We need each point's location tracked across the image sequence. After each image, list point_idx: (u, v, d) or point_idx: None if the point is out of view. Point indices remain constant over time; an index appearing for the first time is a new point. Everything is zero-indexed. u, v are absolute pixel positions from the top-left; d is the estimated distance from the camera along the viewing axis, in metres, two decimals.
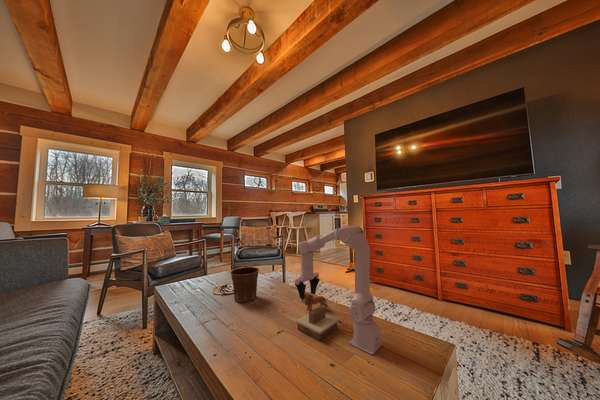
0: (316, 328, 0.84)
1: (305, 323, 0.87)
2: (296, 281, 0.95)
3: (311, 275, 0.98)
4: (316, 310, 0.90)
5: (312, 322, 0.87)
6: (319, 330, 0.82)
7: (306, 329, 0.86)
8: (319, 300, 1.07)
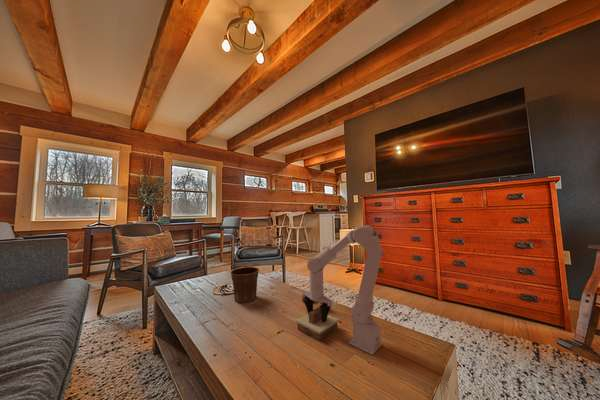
0: (316, 328, 0.84)
1: (305, 323, 0.87)
2: None
3: (312, 295, 0.89)
4: (316, 310, 0.90)
5: (312, 322, 0.87)
6: (319, 330, 0.82)
7: (306, 329, 0.86)
8: None
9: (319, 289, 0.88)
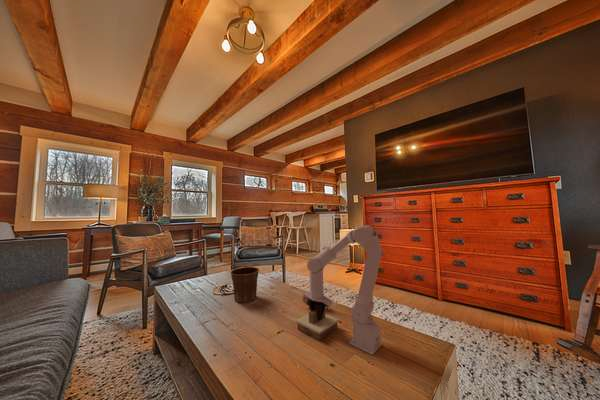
0: (316, 328, 0.84)
1: (305, 323, 0.87)
2: None
3: (312, 295, 0.89)
4: (316, 310, 0.90)
5: (312, 322, 0.87)
6: (319, 330, 0.82)
7: (306, 329, 0.86)
8: None
9: (319, 289, 0.88)
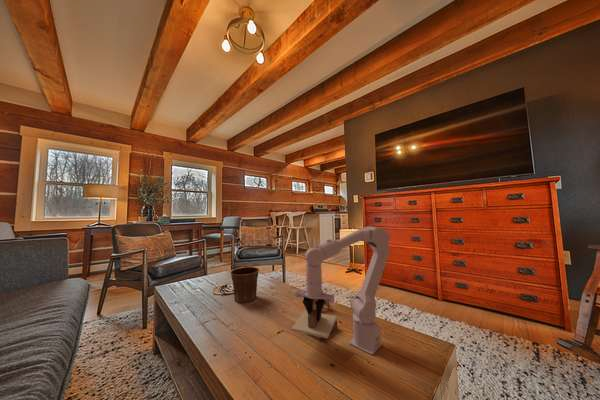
0: (321, 332, 0.72)
1: (305, 329, 0.74)
2: None
3: (311, 293, 0.76)
4: (314, 311, 0.78)
5: (313, 326, 0.74)
6: (325, 334, 0.71)
7: None
8: None
9: (319, 285, 0.76)
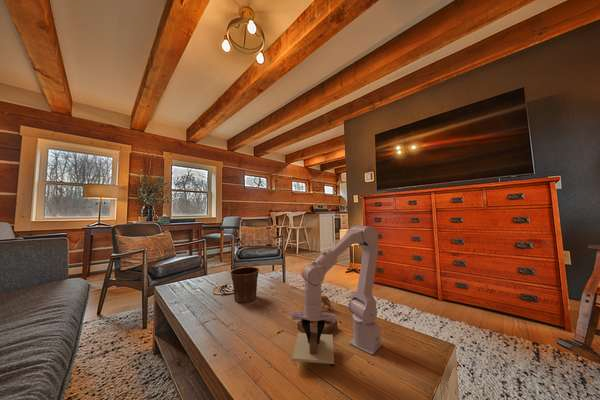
0: (325, 358, 0.66)
1: (307, 357, 0.67)
2: (292, 315, 0.73)
3: (312, 315, 0.70)
4: (313, 334, 0.72)
5: (315, 352, 0.68)
6: (331, 359, 0.66)
7: None
8: (322, 300, 1.07)
9: (320, 304, 0.71)
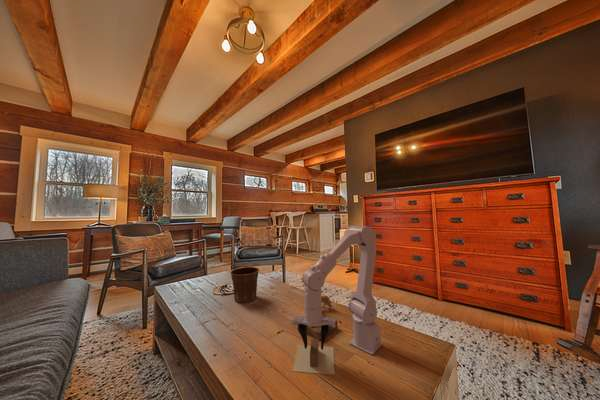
0: (326, 371, 0.66)
1: (308, 370, 0.67)
2: None
3: (312, 320, 0.70)
4: (314, 346, 0.72)
5: (315, 364, 0.68)
6: (332, 372, 0.66)
7: None
8: (323, 300, 1.07)
9: (320, 310, 0.71)
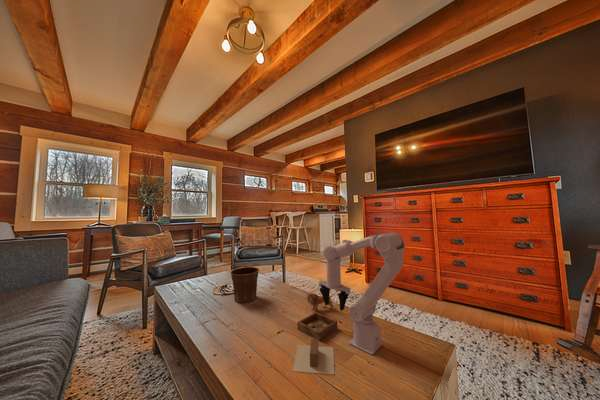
0: (326, 371, 0.66)
1: (307, 370, 0.67)
2: None
3: (329, 284, 0.88)
4: (314, 346, 0.72)
5: (315, 364, 0.68)
6: (332, 372, 0.66)
7: (306, 329, 0.86)
8: None
9: (337, 277, 0.88)
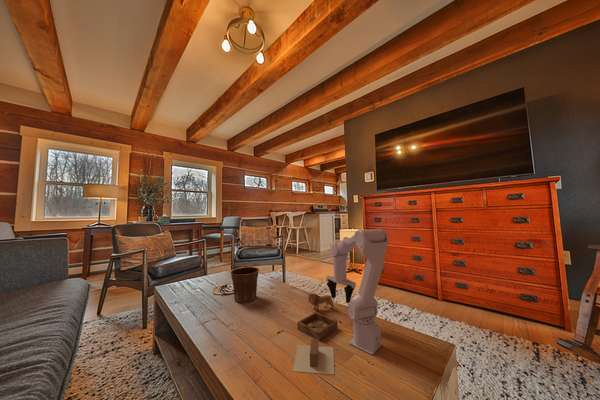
0: (326, 371, 0.66)
1: (307, 370, 0.67)
2: None
3: (336, 278, 0.95)
4: (314, 346, 0.72)
5: (315, 364, 0.68)
6: (331, 372, 0.66)
7: (306, 329, 0.86)
8: (326, 299, 1.08)
9: (343, 272, 0.94)
